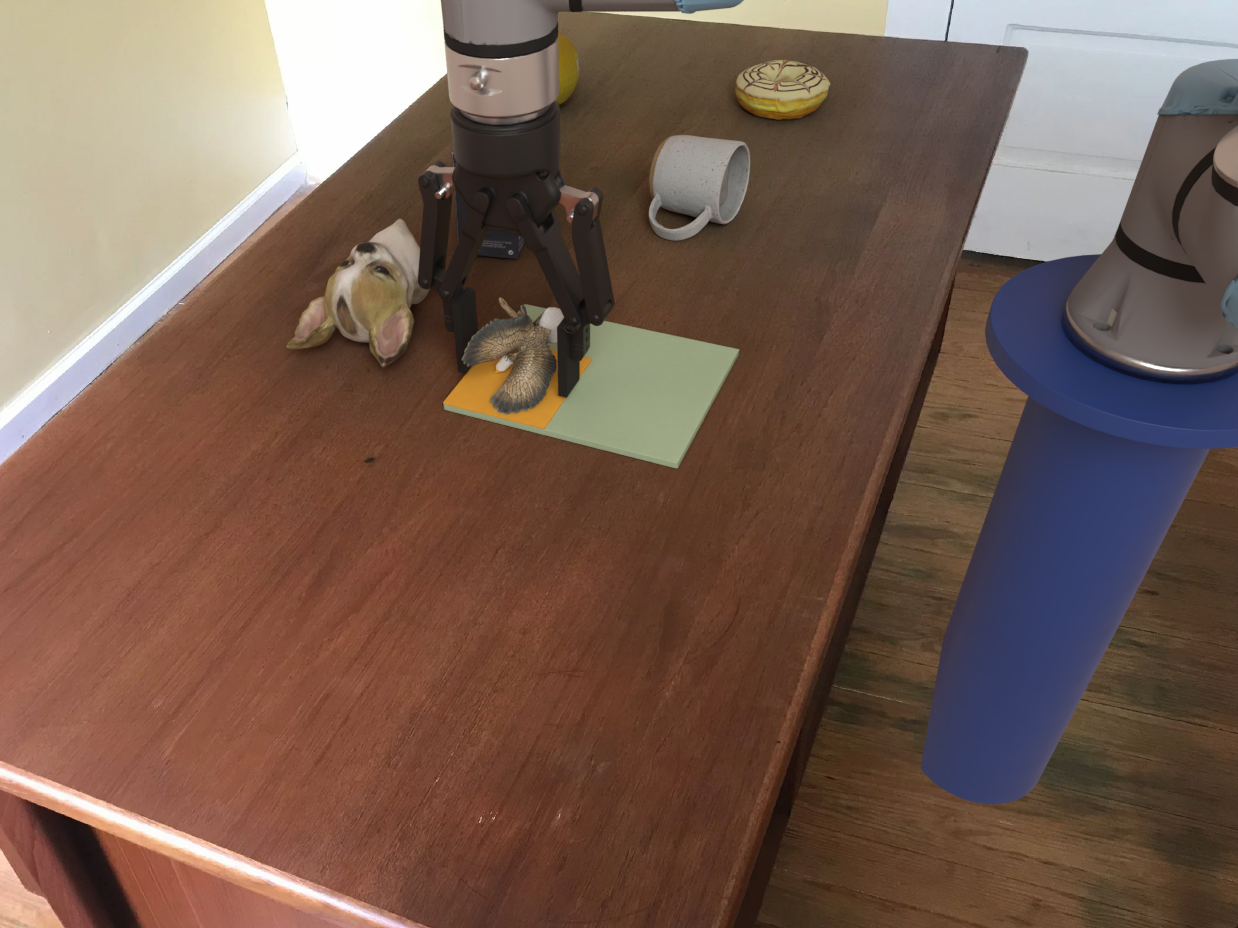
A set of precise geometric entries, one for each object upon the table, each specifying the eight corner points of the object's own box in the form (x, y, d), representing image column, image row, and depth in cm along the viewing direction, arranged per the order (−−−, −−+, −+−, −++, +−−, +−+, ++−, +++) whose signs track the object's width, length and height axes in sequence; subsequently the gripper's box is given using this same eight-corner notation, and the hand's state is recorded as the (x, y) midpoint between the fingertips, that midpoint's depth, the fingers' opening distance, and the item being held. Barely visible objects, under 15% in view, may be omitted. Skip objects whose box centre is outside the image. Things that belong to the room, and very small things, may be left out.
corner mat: (738, 355, 93) (739, 347, 93) (677, 469, 83) (677, 461, 83) (524, 309, 100) (524, 301, 100) (443, 410, 90) (443, 402, 89)
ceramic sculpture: (453, 209, 96) (379, 309, 87) (464, 293, 102) (396, 394, 93) (345, 194, 99) (262, 289, 90) (362, 277, 105) (286, 373, 96)
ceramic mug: (674, 187, 115) (678, 115, 110) (748, 203, 112) (755, 130, 106) (628, 234, 109) (630, 160, 103) (704, 253, 106) (710, 178, 100)
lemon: (562, 125, 127) (561, 54, 122) (500, 117, 130) (496, 47, 124) (594, 88, 134) (594, 20, 128) (535, 81, 136) (532, 13, 131)
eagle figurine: (475, 331, 94) (440, 375, 87) (519, 269, 90) (487, 309, 83) (546, 385, 95) (518, 433, 88) (593, 325, 91) (567, 370, 84)
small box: (521, 261, 106) (517, 157, 99) (456, 256, 107) (447, 153, 100) (544, 208, 113) (541, 108, 106) (483, 204, 115) (476, 104, 107)
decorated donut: (832, 90, 130) (837, 58, 128) (818, 128, 123) (824, 95, 121) (744, 82, 133) (748, 50, 130) (726, 119, 126) (729, 86, 123)
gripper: (343, 103, 76) (384, 373, 92) (631, 148, 69) (622, 431, 85) (395, 63, 81) (426, 325, 97) (671, 101, 74) (655, 377, 90)
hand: (518, 375), depth 91 cm, fingers open, 8 cm apart
